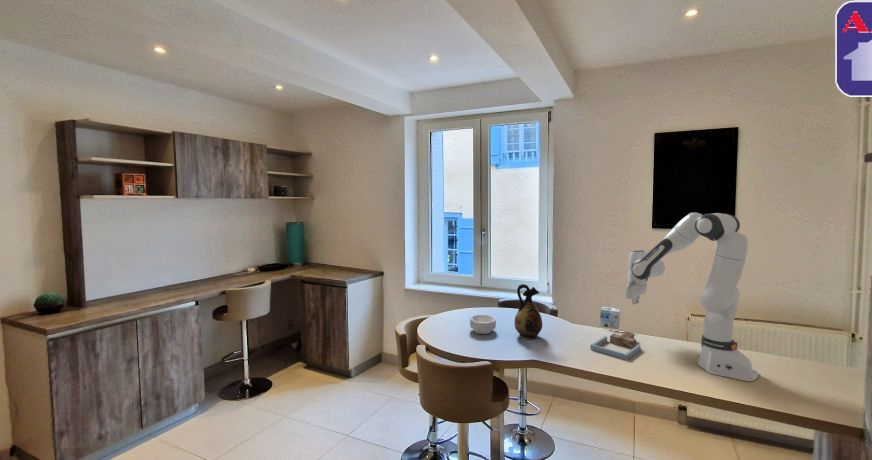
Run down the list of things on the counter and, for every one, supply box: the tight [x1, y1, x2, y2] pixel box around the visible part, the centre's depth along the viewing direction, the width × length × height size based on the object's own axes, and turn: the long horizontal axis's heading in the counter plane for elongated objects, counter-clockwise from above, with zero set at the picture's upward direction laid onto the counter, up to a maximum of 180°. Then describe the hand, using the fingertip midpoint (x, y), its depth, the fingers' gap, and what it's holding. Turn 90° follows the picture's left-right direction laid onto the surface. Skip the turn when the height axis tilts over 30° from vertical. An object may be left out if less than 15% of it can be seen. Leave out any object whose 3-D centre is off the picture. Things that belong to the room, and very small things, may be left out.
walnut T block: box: [609, 331, 637, 349], centre depth 217 cm, size 12×12×4 cm
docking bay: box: [590, 335, 641, 361], centre depth 208 cm, size 18×17×2 cm
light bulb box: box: [599, 306, 621, 330], centre depth 242 cm, size 11×7×11 cm, turn 62°
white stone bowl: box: [469, 314, 497, 335], centre depth 237 cm, size 15×15×8 cm
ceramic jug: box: [513, 283, 543, 340], centre depth 226 cm, size 17×15×30 cm
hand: (635, 303), depth 223 cm, fingers closed
